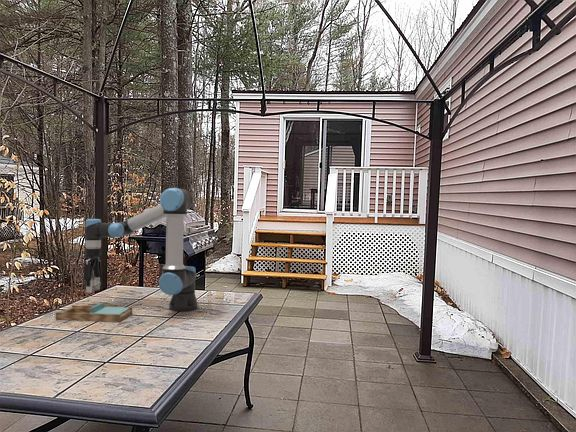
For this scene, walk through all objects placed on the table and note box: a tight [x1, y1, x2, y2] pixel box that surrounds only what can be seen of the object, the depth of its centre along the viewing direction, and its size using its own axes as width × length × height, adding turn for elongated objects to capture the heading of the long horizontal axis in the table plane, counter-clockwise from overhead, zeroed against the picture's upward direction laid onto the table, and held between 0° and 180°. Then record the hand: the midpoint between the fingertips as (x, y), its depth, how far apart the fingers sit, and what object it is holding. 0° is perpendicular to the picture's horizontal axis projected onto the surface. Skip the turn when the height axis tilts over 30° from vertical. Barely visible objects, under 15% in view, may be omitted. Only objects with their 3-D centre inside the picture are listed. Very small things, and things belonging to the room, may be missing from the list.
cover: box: [90, 301, 131, 315], centre depth 203 cm, size 14×13×3 cm
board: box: [55, 304, 133, 323], centre depth 203 cm, size 30×15×3 cm, turn 89°
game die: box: [84, 276, 104, 292], centre depth 220 cm, size 9×8×10 cm
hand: (93, 290), depth 220 cm, fingers closed on game die, 8 cm apart
